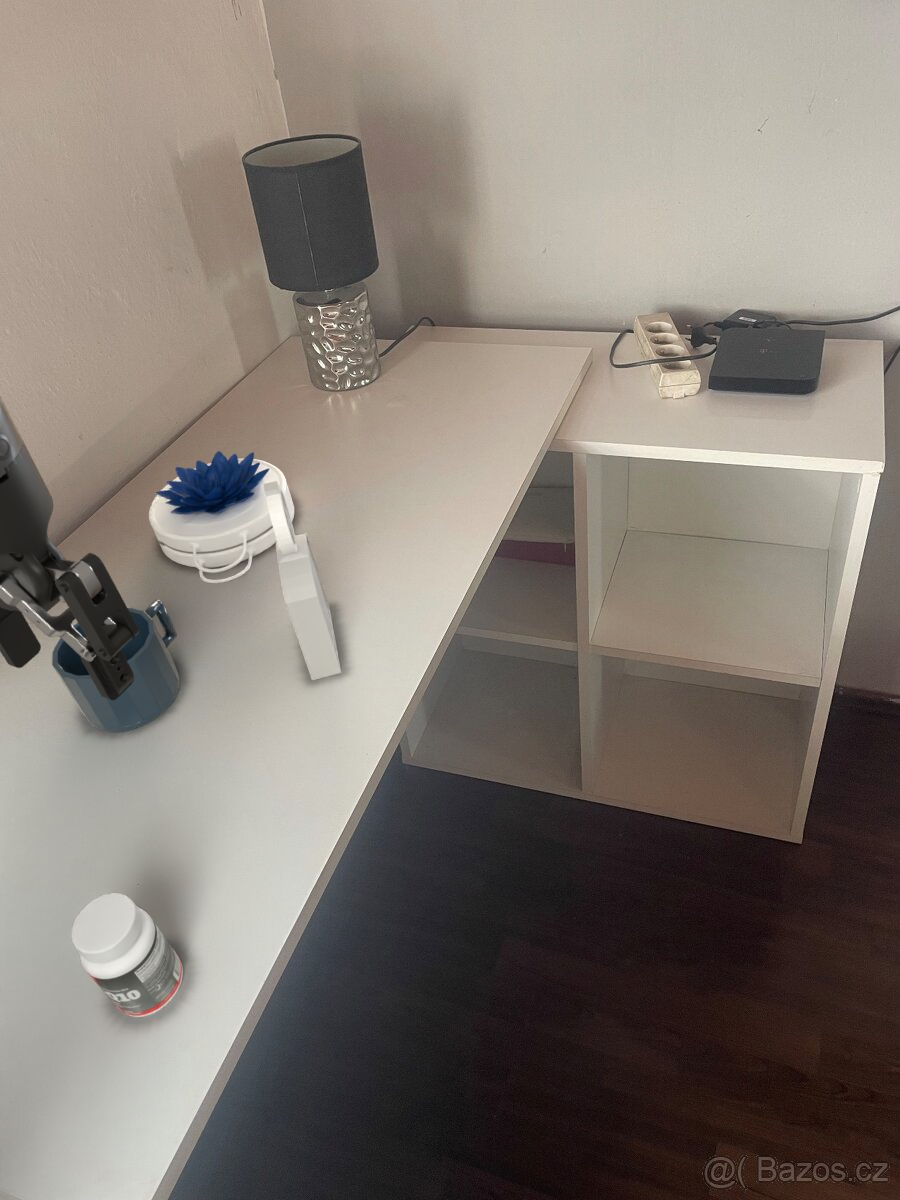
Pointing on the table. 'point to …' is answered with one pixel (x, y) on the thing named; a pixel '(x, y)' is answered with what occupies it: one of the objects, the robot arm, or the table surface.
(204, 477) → the white round gift box
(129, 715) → the mug
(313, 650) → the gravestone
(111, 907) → the pill bottle
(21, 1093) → the table surface
